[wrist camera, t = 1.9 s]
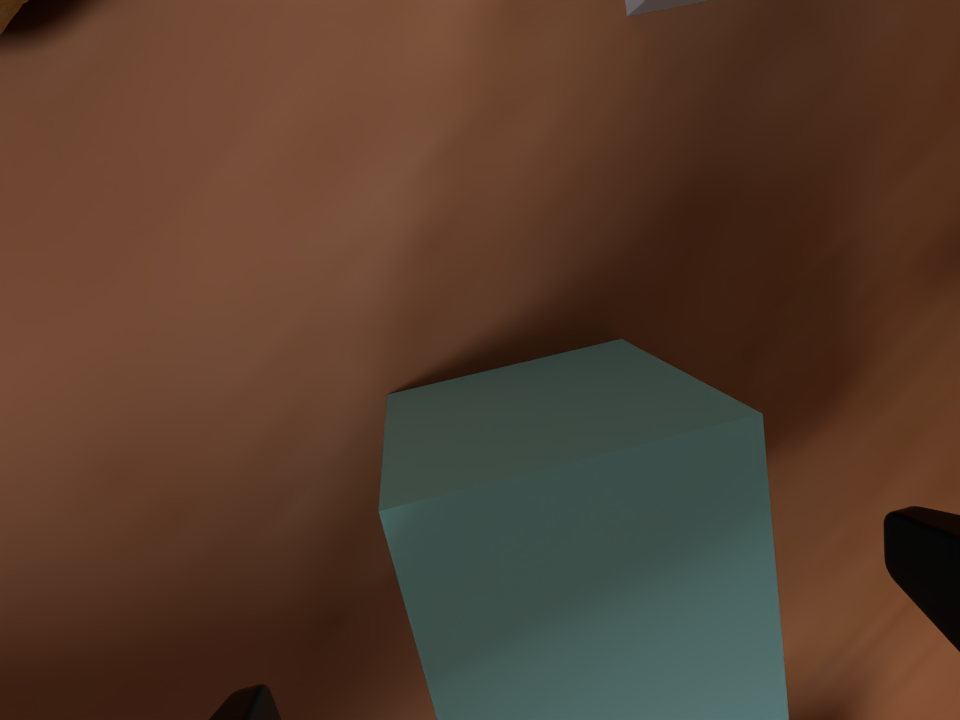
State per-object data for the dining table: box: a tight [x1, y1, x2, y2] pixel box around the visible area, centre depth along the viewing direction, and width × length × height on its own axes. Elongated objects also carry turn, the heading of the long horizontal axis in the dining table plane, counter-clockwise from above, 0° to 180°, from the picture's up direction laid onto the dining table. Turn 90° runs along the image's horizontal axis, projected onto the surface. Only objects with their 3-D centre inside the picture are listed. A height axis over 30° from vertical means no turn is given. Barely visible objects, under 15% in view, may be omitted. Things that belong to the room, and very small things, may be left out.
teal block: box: [379, 339, 789, 720], centre depth 10 cm, size 5×5×5 cm
